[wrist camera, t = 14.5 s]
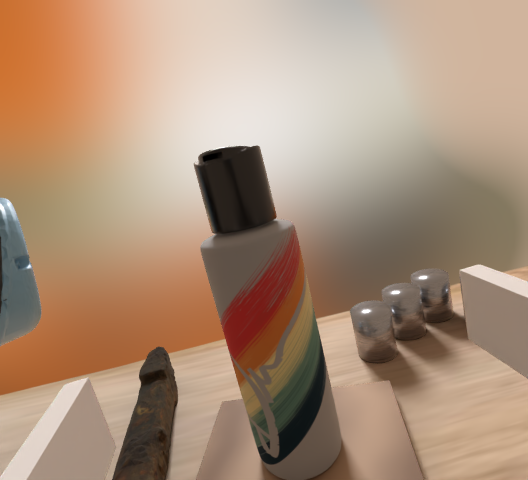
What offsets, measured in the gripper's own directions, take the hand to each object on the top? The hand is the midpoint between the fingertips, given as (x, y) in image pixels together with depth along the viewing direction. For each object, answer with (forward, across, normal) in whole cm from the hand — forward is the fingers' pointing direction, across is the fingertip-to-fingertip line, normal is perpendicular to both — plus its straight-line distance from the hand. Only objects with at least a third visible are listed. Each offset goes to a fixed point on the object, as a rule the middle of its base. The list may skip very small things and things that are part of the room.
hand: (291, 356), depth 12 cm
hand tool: (+16, -12, -14) cm, 24 cm away
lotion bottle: (+9, 0, -12) cm, 16 cm away
